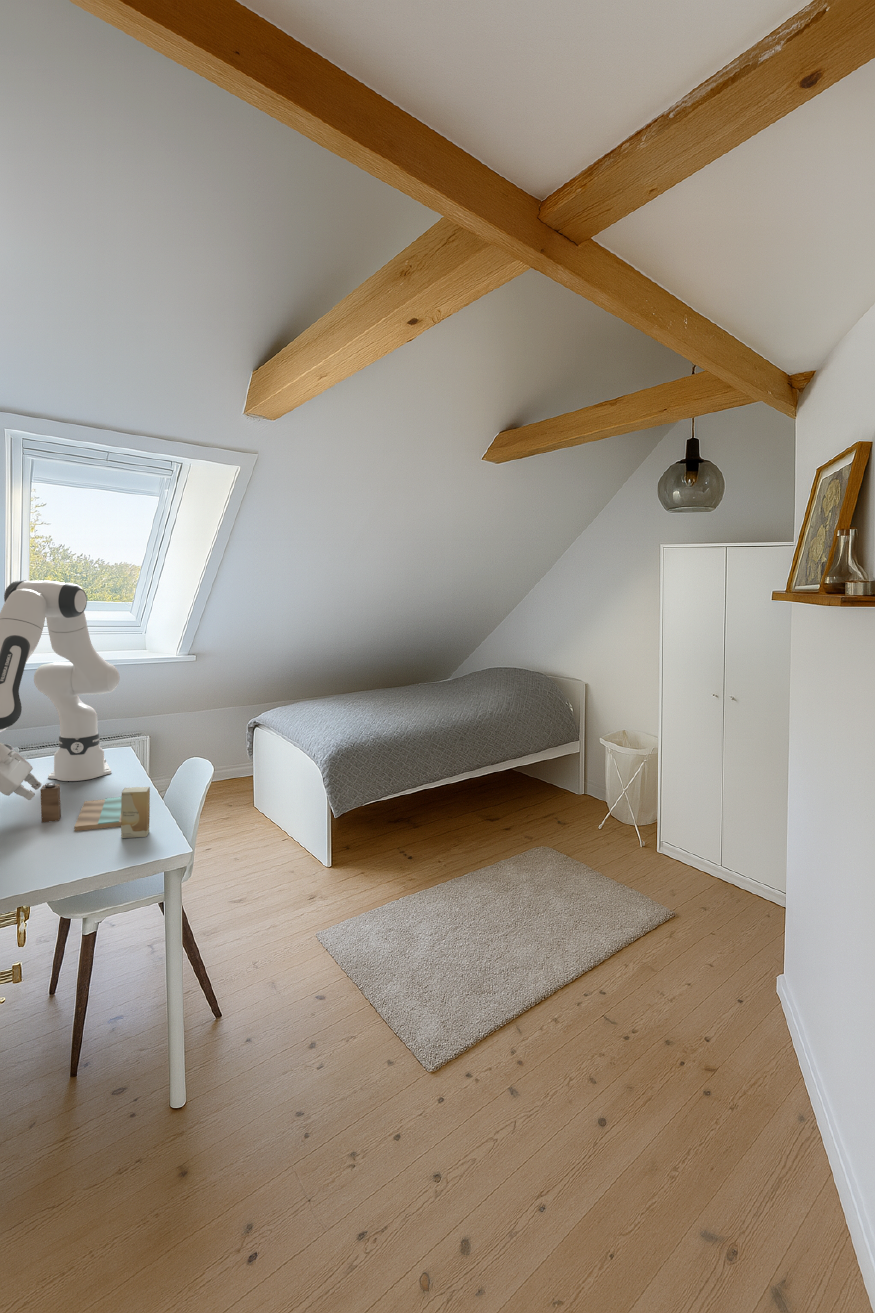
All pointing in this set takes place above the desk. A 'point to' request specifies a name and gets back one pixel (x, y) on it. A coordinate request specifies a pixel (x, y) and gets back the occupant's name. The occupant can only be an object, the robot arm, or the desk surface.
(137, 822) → the skincare box
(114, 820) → the tan flat board
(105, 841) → the desk surface
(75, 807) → the desk surface
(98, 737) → the robot arm
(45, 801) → the walnut post
